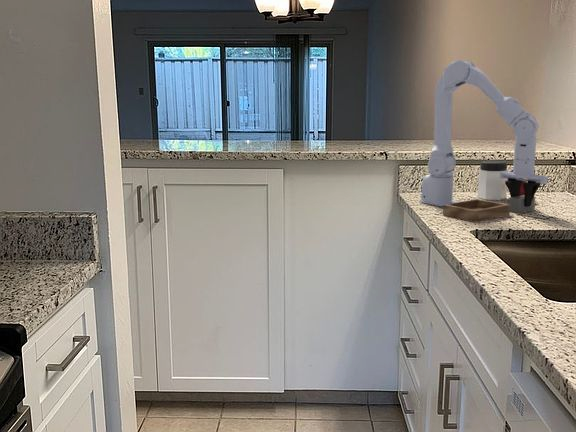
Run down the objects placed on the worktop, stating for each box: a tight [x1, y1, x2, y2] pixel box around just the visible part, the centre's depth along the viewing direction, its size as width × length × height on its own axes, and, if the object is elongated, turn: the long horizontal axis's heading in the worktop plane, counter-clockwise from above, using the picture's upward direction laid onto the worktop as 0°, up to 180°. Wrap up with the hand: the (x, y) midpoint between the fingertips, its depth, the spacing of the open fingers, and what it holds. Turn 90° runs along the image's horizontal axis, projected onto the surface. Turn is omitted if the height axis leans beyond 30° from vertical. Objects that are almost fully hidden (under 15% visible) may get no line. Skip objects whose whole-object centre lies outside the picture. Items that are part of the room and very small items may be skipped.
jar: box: [477, 159, 509, 201], centre depth 191 cm, size 9×8×12 cm
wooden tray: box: [442, 198, 511, 223], centre depth 167 cm, size 12×14×3 cm
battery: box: [508, 195, 536, 214], centre depth 172 cm, size 4×8×4 cm, turn 123°
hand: (521, 205), depth 171 cm, fingers closed on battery, 4 cm apart
